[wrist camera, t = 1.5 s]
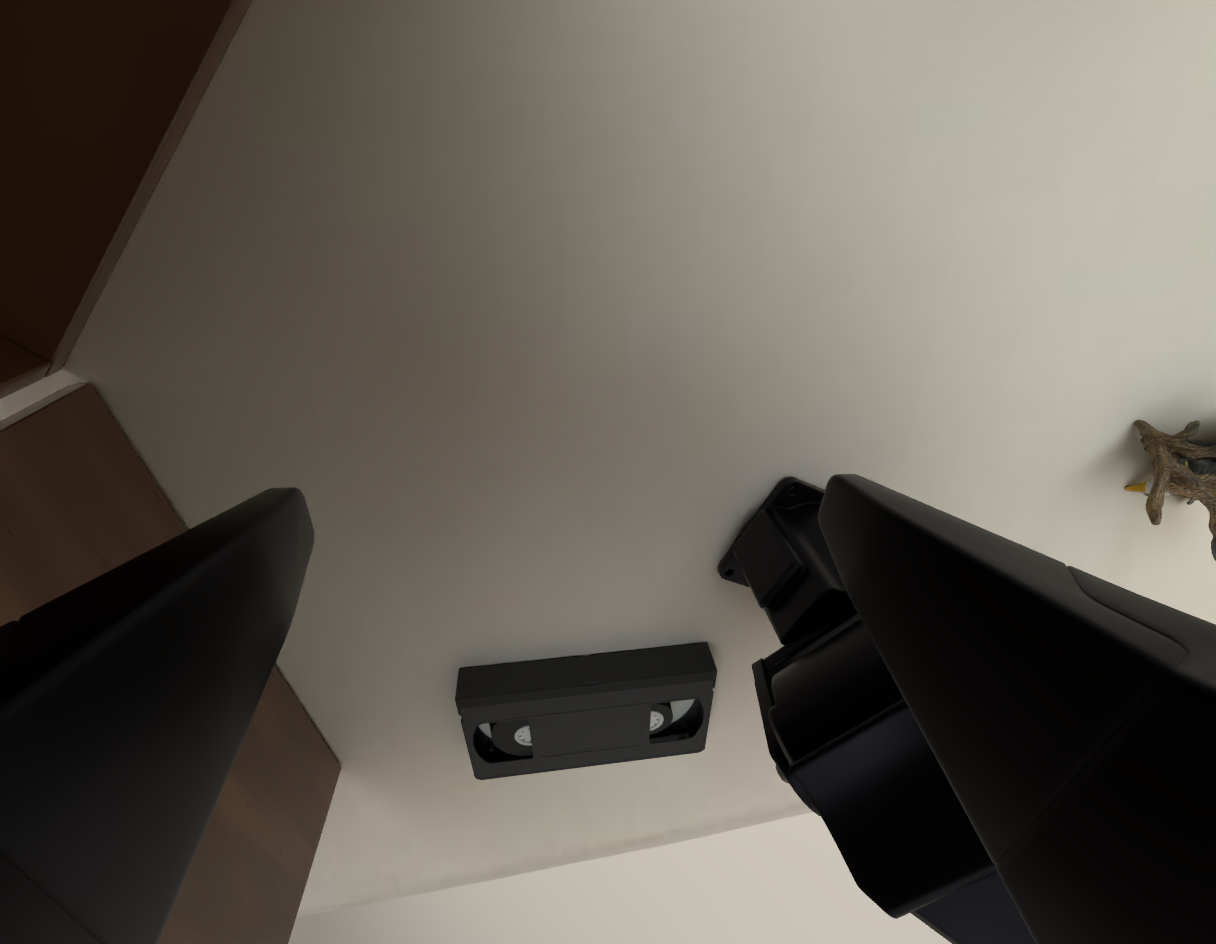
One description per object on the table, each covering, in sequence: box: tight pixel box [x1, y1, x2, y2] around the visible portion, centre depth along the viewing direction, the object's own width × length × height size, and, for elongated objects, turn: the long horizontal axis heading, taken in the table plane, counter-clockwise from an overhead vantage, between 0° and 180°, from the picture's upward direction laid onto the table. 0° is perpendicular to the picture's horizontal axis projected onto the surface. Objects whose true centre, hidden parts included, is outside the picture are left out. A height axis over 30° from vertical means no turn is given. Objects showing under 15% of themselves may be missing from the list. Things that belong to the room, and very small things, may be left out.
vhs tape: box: [455, 643, 717, 780], centre depth 32 cm, size 14×8×2 cm, turn 91°
